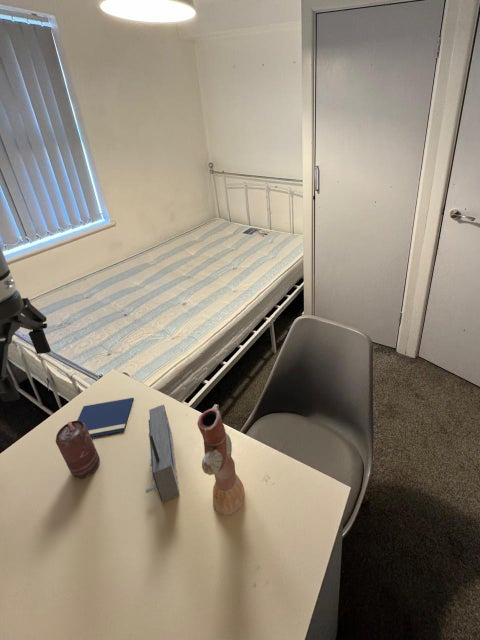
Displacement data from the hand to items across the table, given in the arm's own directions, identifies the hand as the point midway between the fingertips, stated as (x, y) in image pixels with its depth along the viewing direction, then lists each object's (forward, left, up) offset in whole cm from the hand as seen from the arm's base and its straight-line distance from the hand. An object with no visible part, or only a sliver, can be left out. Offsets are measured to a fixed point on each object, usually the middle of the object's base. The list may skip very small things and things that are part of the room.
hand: (29, 373), depth 73 cm
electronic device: (+25, -9, -29) cm, 39 cm away
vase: (+41, -21, -29) cm, 54 cm away
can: (+6, -5, -29) cm, 30 cm away
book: (+6, +8, -28) cm, 30 cm away
